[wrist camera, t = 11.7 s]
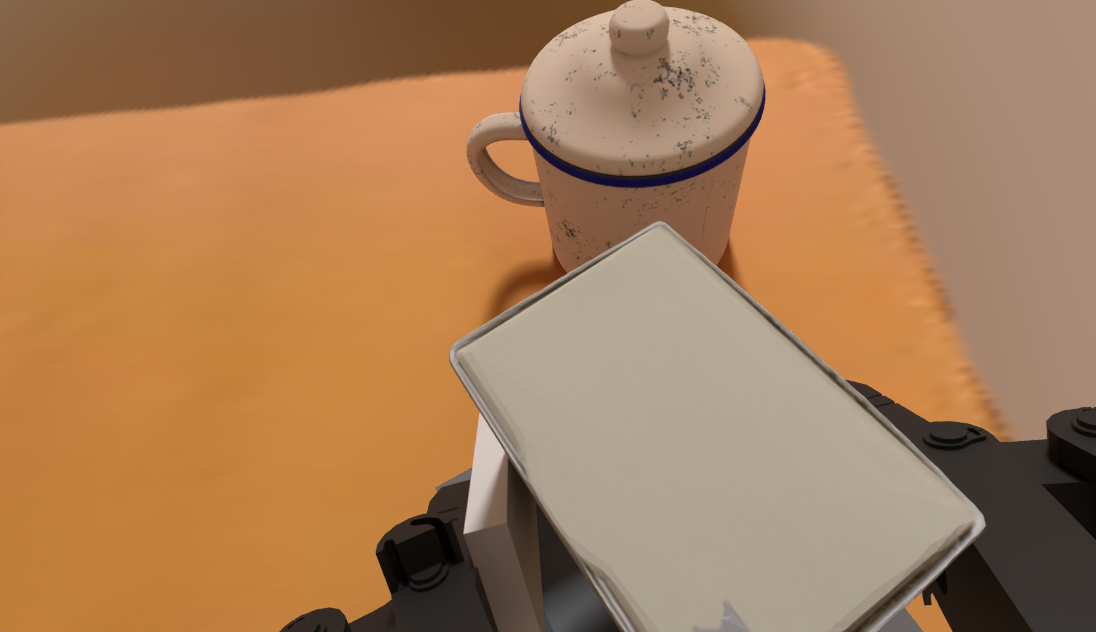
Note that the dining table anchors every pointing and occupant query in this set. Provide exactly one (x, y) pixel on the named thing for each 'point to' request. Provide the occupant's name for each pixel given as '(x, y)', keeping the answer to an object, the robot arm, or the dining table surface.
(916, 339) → the dining table surface
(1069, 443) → the robot arm
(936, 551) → the skincare box
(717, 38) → the teacup with lid
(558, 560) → the tray
